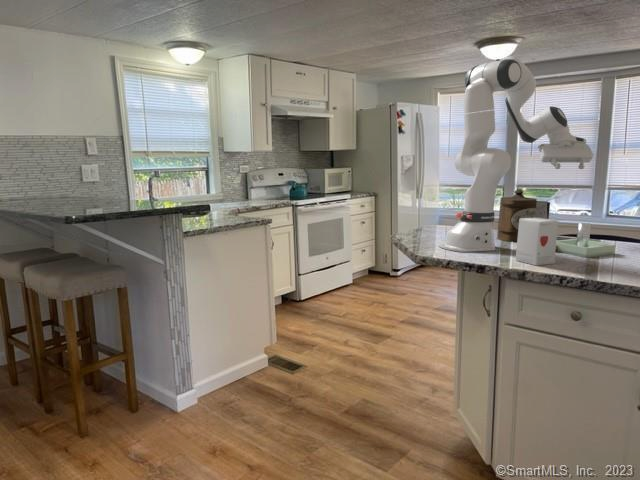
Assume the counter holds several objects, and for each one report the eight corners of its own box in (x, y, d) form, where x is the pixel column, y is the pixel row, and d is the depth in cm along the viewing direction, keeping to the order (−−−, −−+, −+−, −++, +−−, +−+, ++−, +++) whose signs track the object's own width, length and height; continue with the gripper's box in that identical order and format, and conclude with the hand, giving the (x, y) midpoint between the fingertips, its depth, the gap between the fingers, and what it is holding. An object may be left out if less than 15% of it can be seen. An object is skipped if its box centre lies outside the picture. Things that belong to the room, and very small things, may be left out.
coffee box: (547, 238, 210) (550, 202, 207) (532, 237, 211) (535, 202, 208) (542, 235, 218) (545, 200, 215) (527, 234, 220) (530, 200, 217)
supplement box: (535, 266, 156) (539, 221, 153) (514, 260, 164) (518, 218, 161) (555, 263, 159) (559, 220, 157) (533, 258, 167) (537, 216, 165)
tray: (586, 257, 169) (587, 248, 168) (550, 250, 182) (550, 241, 182) (614, 254, 176) (615, 244, 175) (577, 247, 189) (578, 238, 188)
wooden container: (518, 243, 196) (522, 191, 192) (490, 238, 209) (493, 188, 205) (541, 240, 203) (545, 190, 199) (512, 235, 216) (516, 188, 212)
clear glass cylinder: (583, 251, 176) (586, 224, 174) (573, 249, 180) (575, 223, 178) (590, 250, 178) (593, 223, 176) (580, 248, 181) (582, 222, 180)
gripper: (539, 138, 199) (546, 162, 191) (589, 138, 197) (598, 162, 189) (534, 149, 204) (541, 173, 196) (583, 149, 202) (592, 173, 194)
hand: (570, 168), depth 192 cm, fingers open, 8 cm apart
